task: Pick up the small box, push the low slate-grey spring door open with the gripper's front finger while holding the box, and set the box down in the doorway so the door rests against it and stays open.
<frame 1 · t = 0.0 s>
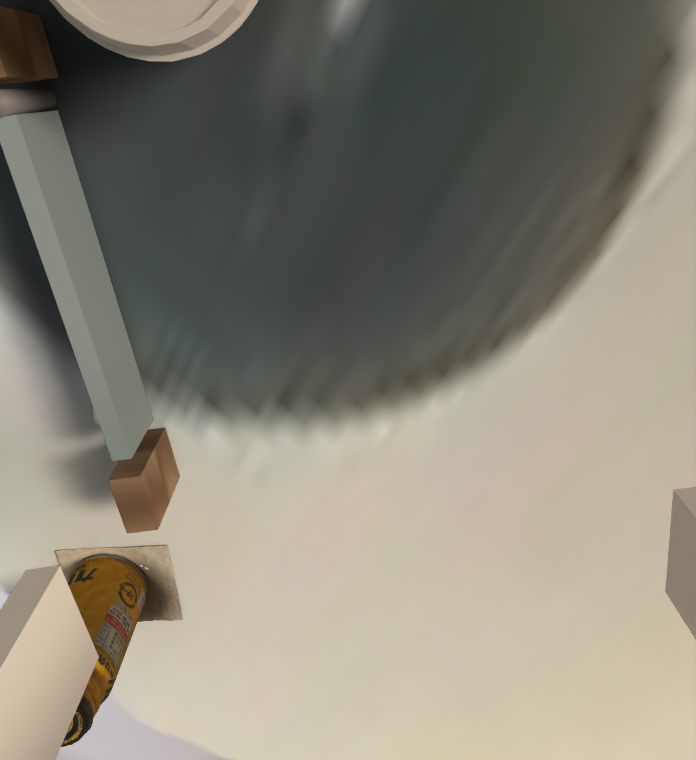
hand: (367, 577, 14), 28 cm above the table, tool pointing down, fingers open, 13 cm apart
brown upright pieces: (47, 100, 36), on the table
door: (72, 285, 37), point 3 cm above the table, hinge at 0.0°
condiment: (122, 582, 50), on the table
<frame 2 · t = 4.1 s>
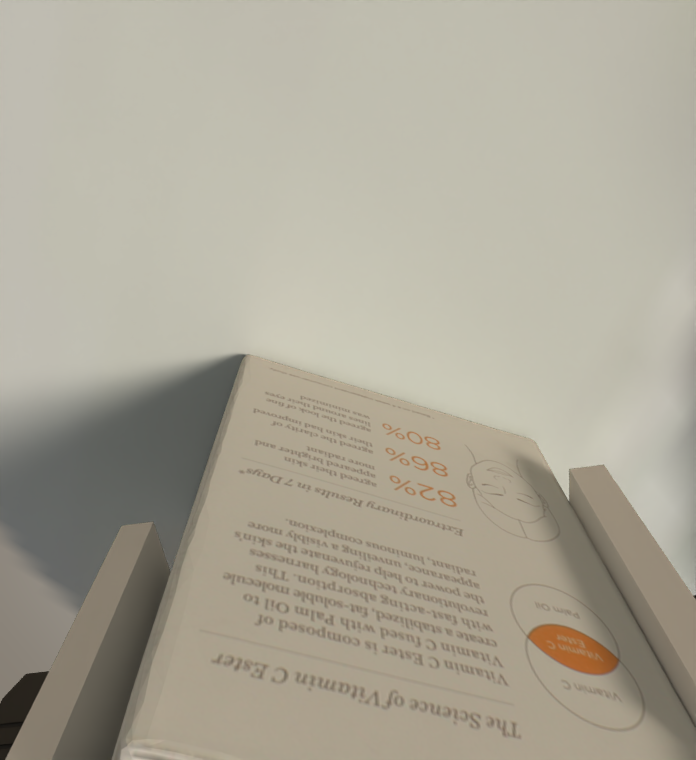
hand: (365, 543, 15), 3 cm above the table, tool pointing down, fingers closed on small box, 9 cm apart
small box: (361, 476, 18), on the table, touching gripper
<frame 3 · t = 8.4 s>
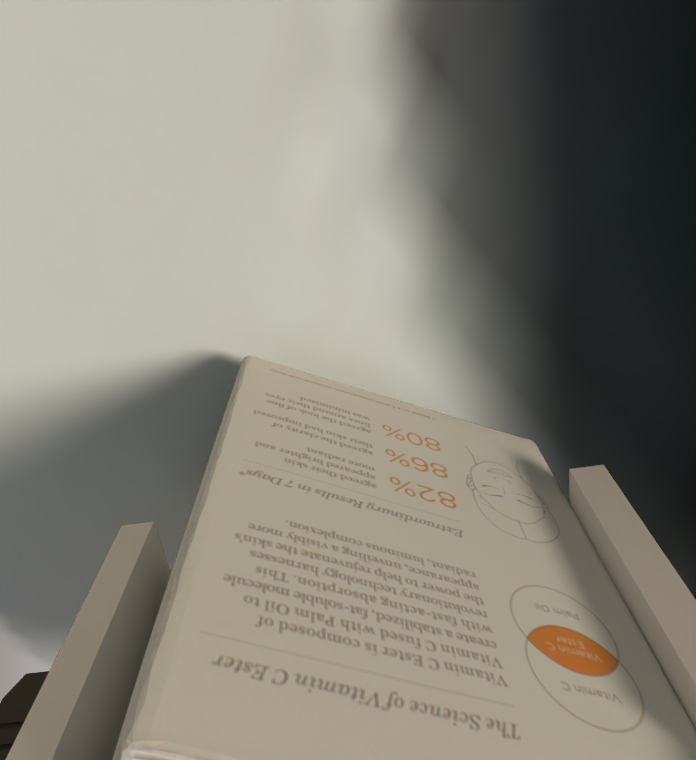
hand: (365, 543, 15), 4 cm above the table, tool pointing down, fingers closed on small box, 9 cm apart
small box: (361, 477, 18), point 1 cm above the table, touching gripper
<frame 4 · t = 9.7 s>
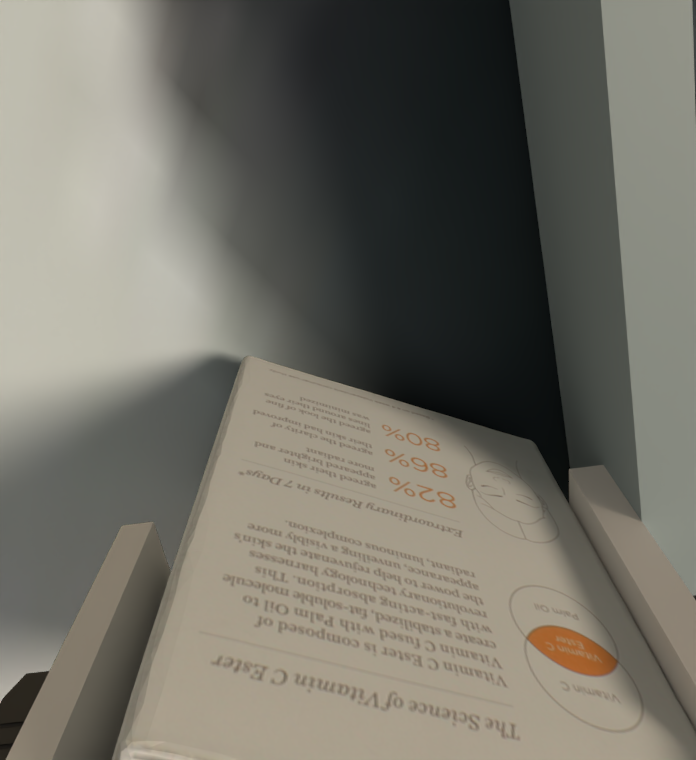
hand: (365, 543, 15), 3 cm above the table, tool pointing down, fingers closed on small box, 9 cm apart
door: (591, 419, 14), point 3 cm above the table, hinge at 5.6°, touching gripper
small box: (361, 477, 18), point 1 cm above the table, touching gripper
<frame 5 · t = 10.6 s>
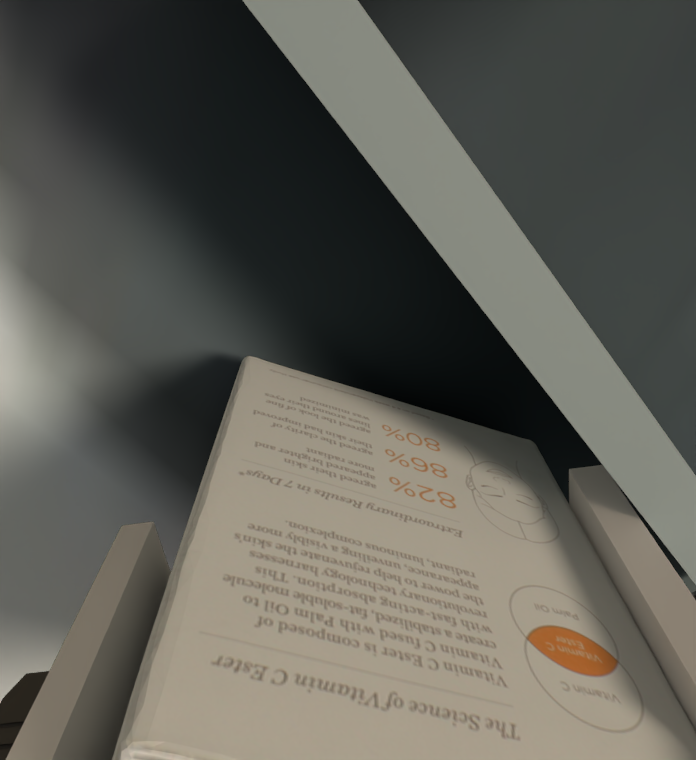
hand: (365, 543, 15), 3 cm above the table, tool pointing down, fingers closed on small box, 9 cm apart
door: (545, 382, 14), point 3 cm above the table, hinge at 30.9°, touching gripper
small box: (361, 477, 18), point 1 cm above the table, touching gripper
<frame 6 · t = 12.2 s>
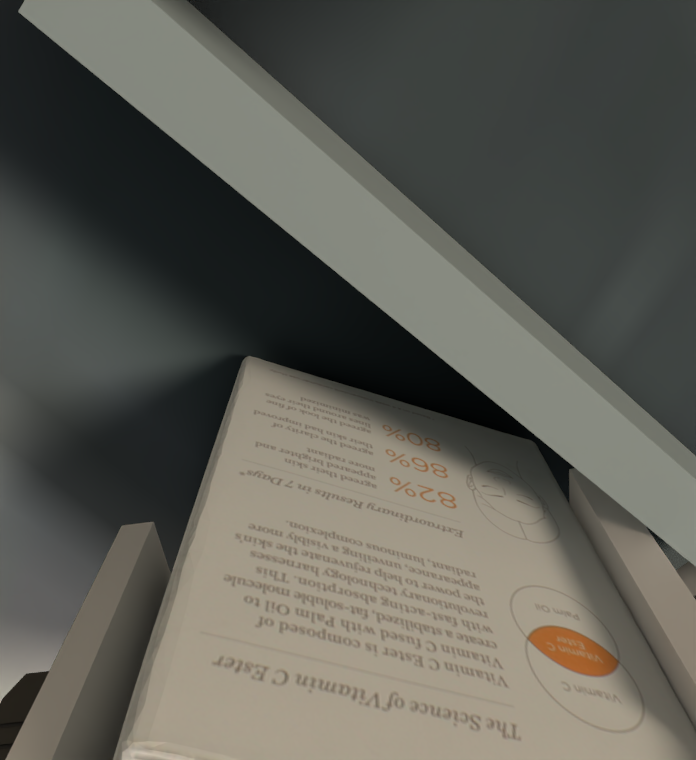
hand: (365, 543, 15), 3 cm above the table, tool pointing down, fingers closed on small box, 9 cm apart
door: (483, 358, 13), point 3 cm above the table, hinge at 41.5°, touching gripper
small box: (361, 477, 18), on the table, touching gripper
when the fingers open (3 cm above the table, at t = 13.1 s): small box stays where it is, on the table.
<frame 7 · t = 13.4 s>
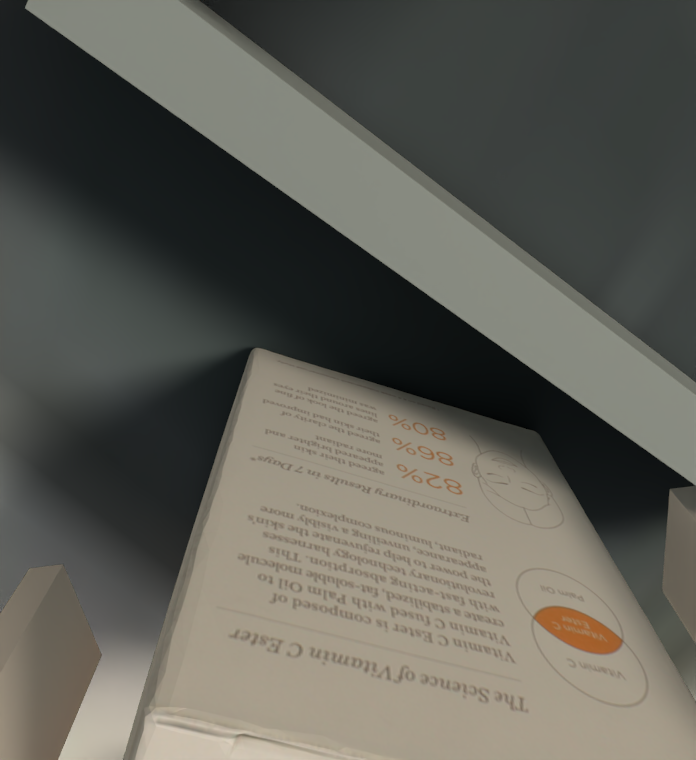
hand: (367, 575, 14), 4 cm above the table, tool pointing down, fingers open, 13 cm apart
door: (515, 330, 13), point 3 cm above the table, hinge at 46.2°, touching gripper
small box: (367, 468, 18), on the table
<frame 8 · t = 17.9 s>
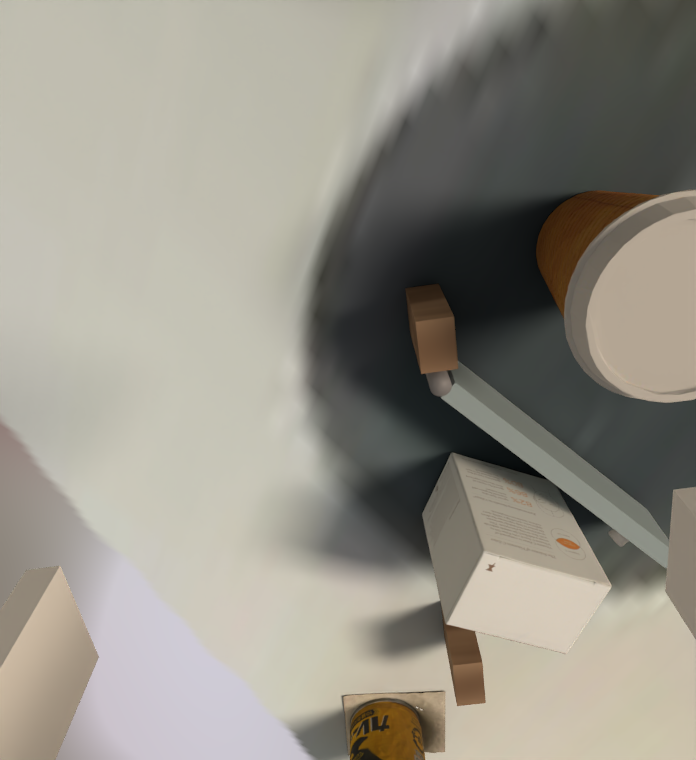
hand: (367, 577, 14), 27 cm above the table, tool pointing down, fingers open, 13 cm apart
brown upright pieces: (428, 346, 41), on the table
disposable coffee cup: (588, 244, 38), on the table
door: (542, 461, 41), point 3 cm above the table, hinge at 42.7°
condiment: (394, 719, 55), on the table
small box: (487, 495, 46), on the table
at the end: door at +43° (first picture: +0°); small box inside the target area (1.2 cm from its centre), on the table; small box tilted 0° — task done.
